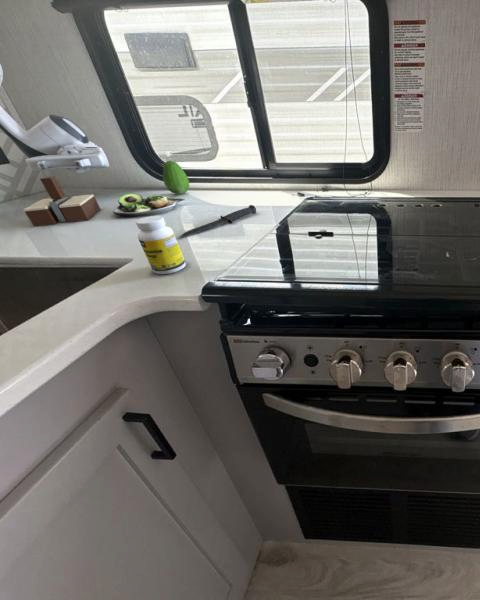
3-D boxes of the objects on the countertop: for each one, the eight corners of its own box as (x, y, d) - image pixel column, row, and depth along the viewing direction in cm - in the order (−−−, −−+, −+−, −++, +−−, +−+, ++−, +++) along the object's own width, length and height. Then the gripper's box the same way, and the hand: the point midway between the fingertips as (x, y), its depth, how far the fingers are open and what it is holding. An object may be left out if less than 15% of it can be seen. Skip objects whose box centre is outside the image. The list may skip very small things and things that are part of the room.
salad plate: (189, 198, 120) (184, 185, 118) (183, 212, 106) (178, 197, 104) (126, 205, 114) (119, 191, 111) (111, 220, 100) (103, 205, 97)
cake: (88, 220, 101) (79, 203, 98) (33, 226, 96) (23, 209, 94) (100, 209, 110) (93, 194, 107) (51, 214, 106) (42, 199, 103)
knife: (250, 209, 105) (251, 202, 103) (260, 218, 104) (261, 212, 102) (170, 231, 88) (169, 224, 86) (180, 243, 87) (180, 236, 85)
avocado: (185, 196, 122) (173, 162, 116) (164, 196, 123) (151, 162, 116) (197, 191, 129) (186, 158, 123) (177, 191, 129) (165, 158, 123)
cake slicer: (68, 221, 100) (45, 180, 93) (58, 222, 99) (34, 181, 92) (80, 212, 107) (59, 173, 101) (71, 213, 107) (49, 174, 100)
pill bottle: (146, 274, 70) (122, 223, 64) (169, 261, 75) (149, 213, 69) (171, 276, 68) (149, 225, 63) (193, 263, 74) (174, 215, 68)
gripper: (33, 150, 111) (11, 156, 100) (106, 147, 117) (93, 152, 106) (44, 170, 114) (24, 178, 103) (114, 165, 121) (103, 172, 110)
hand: (60, 165), depth 105 cm, fingers open, 8 cm apart
